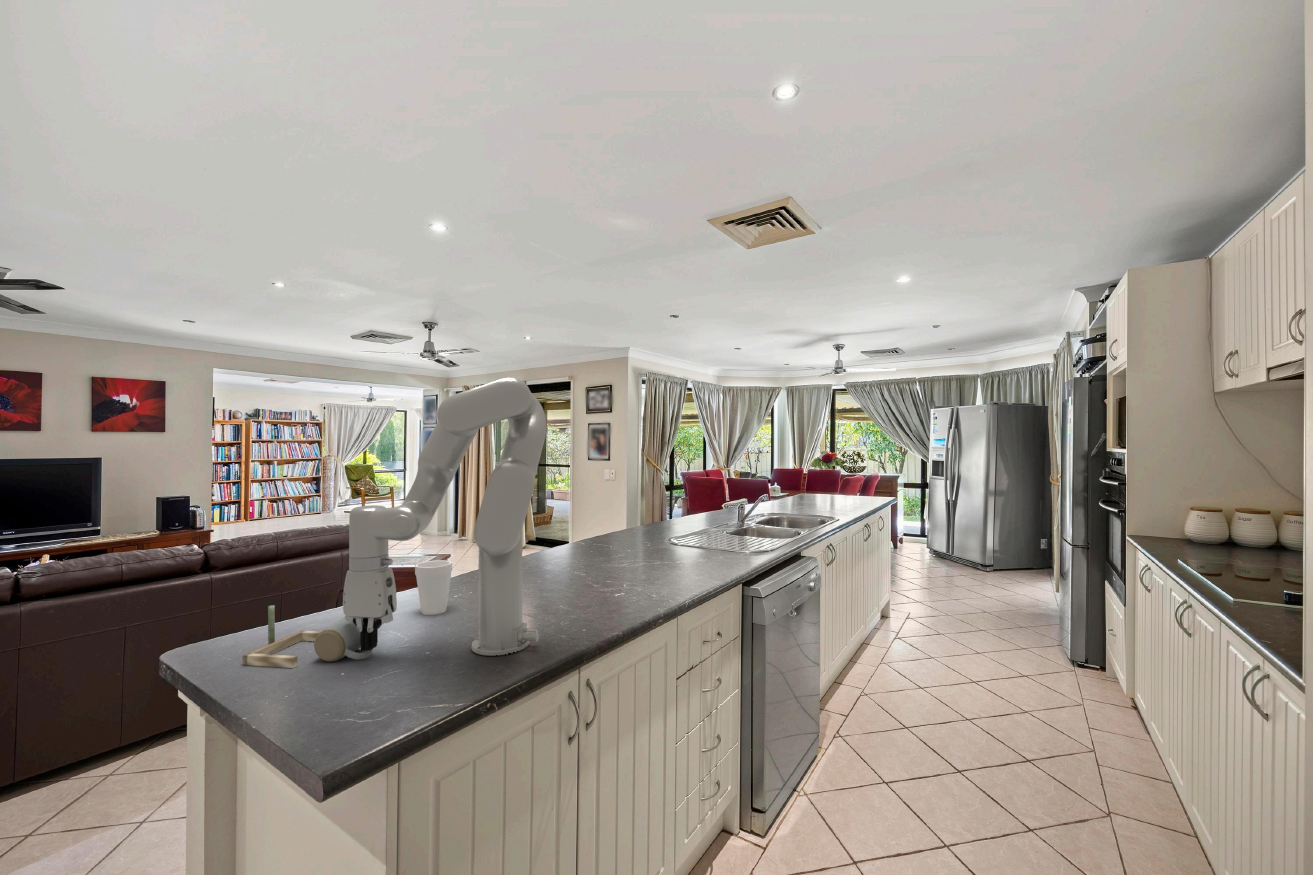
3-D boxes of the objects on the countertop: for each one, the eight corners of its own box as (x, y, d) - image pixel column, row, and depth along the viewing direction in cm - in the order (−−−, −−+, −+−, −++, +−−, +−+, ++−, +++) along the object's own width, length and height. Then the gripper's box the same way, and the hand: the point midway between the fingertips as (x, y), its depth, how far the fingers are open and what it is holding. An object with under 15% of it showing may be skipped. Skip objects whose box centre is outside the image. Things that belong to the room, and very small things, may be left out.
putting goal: (346, 641, 129) (346, 598, 129) (292, 668, 113) (292, 619, 114) (297, 638, 131) (296, 596, 131) (237, 664, 116) (237, 616, 116)
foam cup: (407, 615, 148) (407, 567, 148) (427, 605, 157) (427, 559, 157) (440, 617, 146) (440, 568, 146) (458, 607, 155) (458, 560, 155)
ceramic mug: (310, 663, 116) (311, 626, 116) (336, 648, 124) (336, 614, 124) (358, 665, 115) (359, 628, 115) (381, 650, 123) (381, 616, 123)
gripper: (411, 560, 122) (411, 644, 121) (350, 558, 124) (350, 640, 124) (389, 568, 114) (389, 657, 114) (325, 566, 117) (324, 653, 116)
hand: (368, 648), depth 119 cm, fingers closed
